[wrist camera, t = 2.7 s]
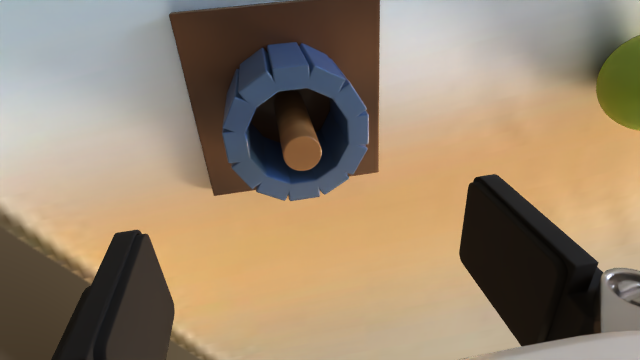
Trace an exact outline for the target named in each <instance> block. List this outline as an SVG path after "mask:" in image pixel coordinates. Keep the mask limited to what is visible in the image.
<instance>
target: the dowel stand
mask: <svg viewBox="0 0 640 360" xmlns="http://www.w3.org/2000/svg"><path fill="white" fill-rule="evenodd" d="M169 17H170V21H171V25H172V29H173V33H174V37H175V41H176V45H177V49H178V53H179V57H180V61H181V65H182V69H183V73H184V77H185V81H186V85H187V89H188V93H189V97H190V101H191V105H192V109H193V113H194V117H195V121H196V125H197V129H198V133H199V137H200V141H201V145H202V149H203V153H204V157H205V161H206V165H207V169H208V173H209V177H210V181H211V185H212V189H213V193H214V196H217V195H224V194H231V193H237V192H244V191H251V190H256V187H255V188H253V189H251V188H250V187H249V186H248V185H247V184H246V183H245V182H244V181H243V180H242V179H241V177H240V176H239V175H238V174H237V173H236V172H235V171H234V170H233V169H232V168H231V163H228V160H227V155H226V150H225V146H224V141H223V136H222V130H223V119H224V112H225V104H226V96H227V92H228V89H229V87H230V84H231V81H232V79H233V76H234V73H235V71H236V69H239V70H240V64H241V63H242V62H244V61H245V60H246V59H247V58H249V57H250V56H251V55H253V54H254V53H255V52H257V51H258V50H259V49H261V48H264V49H265V50H266V52H267V53H268V51H267V45H272V44H281V43H291V42H297V44H298V46H300V44H301V43H303V44H305V45H307V46H310V47H312V48H314V49H316V50H318V51H320V52H322V53H324V54H326V55H327V56H328V57H329V58H331V59H332V60H333V61H334V63H335V64H336V65H337V66H338V68H339V69H340V70H341V72H342V73H343V74H344V75H345V77H346V78H347V79H348V81H349V82H350V83H351V85H352V86H353V88H354V89H355V91H356V92H357V94H358V95H359V97H360V98H361V100H362V101H363V103H364V105H365V106H366V108H367V109H366V112H367V113H368V115H369V143H368V144H366V147H367V151H366V153H365V155H364V156H363V158H362V160H361V162H360V163H359V165H358V167H357V169H356V170H355V172H354V174H353V175H352V174H349V173H348V176H355V175H362V174H369V173H376V172H379V28H380V0H295V1H285V2H275V3H264V4H254V5H244V6H233V7H223V8H213V9H202V10H192V11H182V12H172V13H170V14H169ZM329 112H330V99H329V97H327V96H324V95H322V94H320V93H317V92H315V91H313V90H310V89H308V88H305V89H296V90H288V91H280V92H277V93H276V94H275V95H273V96H272V97H271V98H269V99H268V100H266V101H265V102H264V103H262V104H261V105H260V106H258V107H257V108H256V110H255V112H254V115H253V117H252V119H251V123H252V124H253V125H254V126H255V128H256V129H257V130H258V131H259V132H260V133H261V135H262V136H263V137H265V138H268V139H271V140H274V141H276V142H279V143H281V148H282V153H283V159H284V161H285V163H286V164H287V165H288V166H289V167H290V168H292V169H294V170H298V171H305V170H309V169H311V168H313V167H314V166H315V165H317V163H318V162H319V160H320V158H321V155H322V149H321V146H320V143H319V140H318V138H317V135H316V132H317V131H319V130H320V129H321V128H322V126H323V124H324V122H325V120H326V118H327V116H328V114H329Z"/></svg>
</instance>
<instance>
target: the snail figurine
mask: <svg viewBox="0 0 640 360" xmlns="http://www.w3.org/2000/svg"><path fill="white" fill-rule="evenodd" d="M596 93H597V98H598V101H599V104H600V106H601V107H602V109H603V110H604V112H605V113H606V114H607V115H608V116H609V117H610V118H611V119H612V120H614V121H615V122H617V123H618V124H620V125H622V126H625V127H627V128H630V129H634V130H639V131H640V35H639V36H636V37H634V38H632V39H630V40H629V41H627V42H625V43H624V44H622V45H621V46H620V47H618V48H617V49H616V50H615V51H614V52H613V53H612V54H611V55H610V56H609V57H608V58H607V60H606V61H605V63H604V64H603V66H602V68H601V70H600V72H599V75H598V78H597V84H596Z"/></svg>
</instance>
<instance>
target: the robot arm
mask: <svg viewBox="0 0 640 360" xmlns="http://www.w3.org/2000/svg"><path fill="white" fill-rule="evenodd" d="M459 253H460V259H461V261H462V263H463V265H464V266H465V268H466V269H467V270H468V272H469V273H470V275H471V276H472V277H473V279H474V280H475V282H476V283H477V284H478V286H479V287H480V289H481V290H482V291H483V293H484V294H485V296H486V297H487V298H488V300H489V301H490V303H491V304H492V305H493V307H494V308H495V310H496V311H497V312H498V314H499V315H500V317H501V318H502V319H503V321H504V322H505V324H506V325H507V326H508V328H509V329H510V331H511V332H512V333H513V335H514V336H515V338H516V339H517V340H518V342H519V343H520V345H521V346H522V347H517V348H512V349H507V350H502V351H497V352H493V353H488V354H483V355H478V356H473V357H468V358H463V359H458V360H640V271H638V270H634V269H628V268H613V269H609V270H607V271H605V272H604V273H603V272H602V271H601V270H600V269H599V268H598V267H597V265H598V262H597V261H596V260H595V259H594V258H593V257H592V256H590V255H589V254H588V253H587V252H586V251H585V250H584V249H582V248H581V247H580V246H579V245H578V244H577V243H575V242H574V241H573V240H572V239H571V238H570V237H569V236H567V235H566V234H565V233H564V232H563V231H562V230H560V229H559V228H558V227H557V226H556V225H555V224H553V223H552V222H551V221H550V220H549V219H548V218H547V217H545V216H544V215H543V214H542V213H541V212H540V211H538V210H537V209H536V208H535V207H534V206H533V205H532V204H530V203H529V202H528V201H527V200H526V199H525V198H523V197H522V196H521V195H520V194H519V193H518V192H517V191H515V190H514V189H513V188H512V187H511V186H510V185H508V184H507V183H506V182H505V181H504V180H503V179H501V178H500V177H499V176H498V175H496V174H493V175H486V176H480V177H476V178H475V179H474V181H473V182H472V183H470V184H469V187H468V193H467V200H466V208H465V215H464V222H463V229H462V237H461V244H460V252H459ZM173 319H174V303H173V300H172V297H171V294H170V292H169V289H168V286H167V284H166V281H165V278H164V275H163V273H162V270H161V267H160V265H159V262H158V259H157V257H156V254H155V251H154V248H153V246H152V243H151V240H150V238H149V236H148V234H142V233H141V232H140V231H139V230H132V231H126V232H120V233H116V234H115V235H114V237H113V239H112V241H111V243H110V245H109V247H108V250H107V252H106V254H105V256H104V258H103V261H102V263H101V265H100V267H99V269H98V272H97V274H96V276H95V278H94V280H93V283H92V285H91V286H89V287H87V288H86V289H85V290H84V292H83V293H82V296H81V298H80V300H79V302H78V304H77V306H76V308H75V311H74V313H73V315H72V317H71V319H70V321H69V323H68V325H67V327H66V330H65V332H64V334H63V336H62V338H61V340H60V342H59V344H58V347H57V349H56V351H55V353H54V355H53V357H52V360H166V357H167V351H168V346H169V341H170V335H171V330H172V325H173Z"/></svg>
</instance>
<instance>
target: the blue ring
mask: <svg viewBox="0 0 640 360" xmlns="http://www.w3.org/2000/svg"><path fill="white" fill-rule="evenodd" d="M267 51H268V53H267V52H266V50H265V49H264V48H261V49H259V50H258V51H257V52H255V53H254V54H253V55H251V56H250V57H249V58H247V59H246V60H245V61H244V62H242V63H241V64H240V70H239V69H236V71H235V73H234V76H233V79H232V81H231V84H230V87H229V89H228V92H227V96H226V104H225V112H224V119H223V130H222V136H223V141H224V146H225V150H226V155H227V160H228V163H231V168H232V169H233V170H234V171H235V172H236V173H237V174H238V175H239V176H240V177H241V179H242V180H243V181H244V182H245V183H246V184H247V185H248V186H249V187H250V188H251V189H253V188H255V187H256V191H257V192H258V193H262V194H265V195H268V196H271V197H274V198H278V199H281V200H286V198H287V196H288V195H289V200H290V201H294V200H301V199H308V198H315V197H319V196H320V191H321V192H322V193H323V194H324V195H325V194H327V193H328V192H330V191H331V190H333V189H334V188H336V187H337V186H339V185H340V184H342V183H343V182H345V181H346V180H348V179H349V176H348V173H349V174H352V175H353V174H354V172H355V170H356V169H357V167H358V165H359V163H360V162H361V160H362V158H363V156H364V155H365V153H366V151H367V147H366V144H368V143H369V115H368V113H367V112H366V109H367V108H366V106H365V105H364V103H363V101H362V100H361V98H360V97H359V95H358V94H357V92H356V91H355V89H354V88H353V86H352V85H351V83H350V82H349V81H348V79H347V78H346V77H345V75H344V74H343V73H342V72H341V70H340V69H339V68H338V66H337V65H336V64H335V63H334V61H333V60H332V59H331V58H329V57H328V56H327V55H326V54H324V53H322V52H320V51H318V50H316V49H314V48H312V47H310V46H307V45H305V44H303V43H301V44H300V46H298V44H297V42H291V43H281V44H272V45H267ZM305 88H308V89H310V90H313V91H315V92H317V93H320V94H322V95H324V96H327V97H329V99H330V112H329V114H328V116H327V118H326V120H325V122H324V124H323V126H322V128H321V129H320V130H319V131H317V132H316V135H317V138H318V140H319V143H320V146H321V149H322V155H321V158H320V160H319V162H318V163H317V165H315V166H314V167H313V168H311V169H309V170H305V171H298V170H294V169H292V168H290V167H289V166H288V165H287V164H286V163H285V161H284V159H283V153H282V148H281V143H279V142H276V141H274V140H271V139H268V138H265V137H263V136H262V135H261V133H260V132H259V131H258V130H257V129H256V128H255V126H254V125H253V124H252V123H251V119H252V117H253V115H254V112H255V110H256V108H257V107H258V106H260V105H261V104H262V103H264V102H265V101H266V100H268V99H269V98H271V97H272V96H273V95H275V94H276V93H277V92H280V91H288V90H296V89H305Z"/></svg>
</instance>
